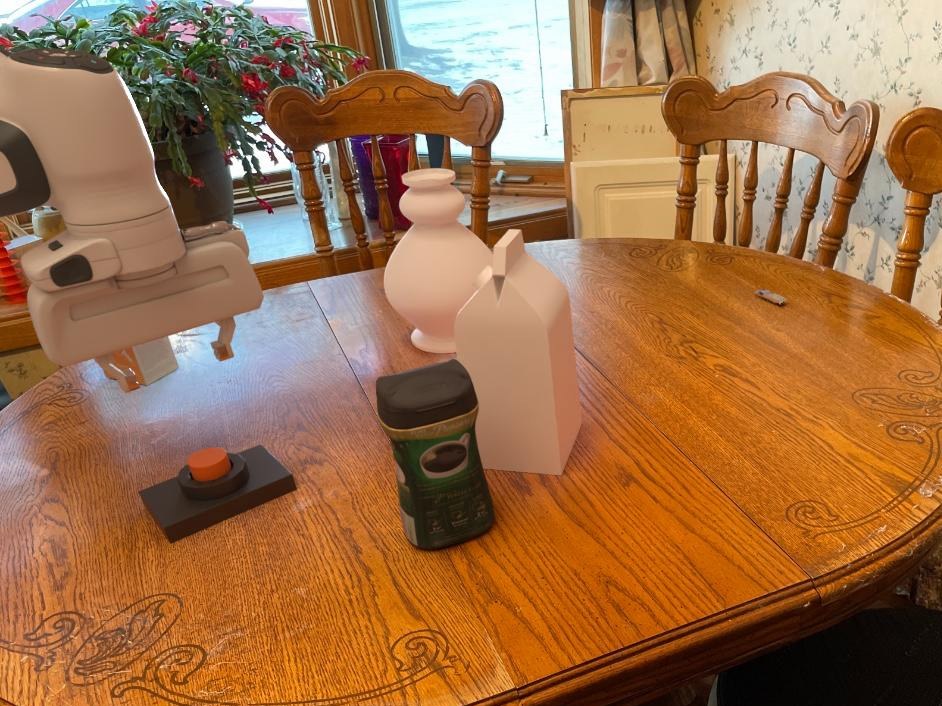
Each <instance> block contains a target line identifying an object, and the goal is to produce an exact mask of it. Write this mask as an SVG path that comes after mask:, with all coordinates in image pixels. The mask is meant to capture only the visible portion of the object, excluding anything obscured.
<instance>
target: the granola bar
mask: <svg viewBox="0 0 942 706" xmlns="http://www.w3.org/2000/svg"><path fill="white" fill-rule="evenodd" d="M755 293H757V294H759V295H761V296H764V297H766V298H769V299H771V300H774V301H776V302H778V303H779V305H782V304H781V303H783V301H786V300H788V299H787V298H786V297H784V296H782V295H780V294H777V293H775V292H773V291H770V290H769V289H765V288H761V289H758V290H756V291H753V294H755ZM783 304H784V303H783Z"/></svg>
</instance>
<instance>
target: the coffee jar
mask: <svg viewBox="0 0 942 706" xmlns="http://www.w3.org/2000/svg"><path fill="white" fill-rule="evenodd" d="M375 395H376V415H377V419H378V422H379V425H380V427H381V429H382V430H383V432H384V433H385V435H386V436H387V437H388V439H389V442H390V445H391V449H392V454H393V455H392V456H393V461H394V466H395V475H396V484H397V496H398V507H399V514H400V520H401V525H402V530H403V532H404V535H405V536H406V539H408V541H409V542H410V544H411V545H413V546H415V547H417V548H418V549H423V550H425V551H429V550H438V549H442V548H446V547H450V546H453V545H456V544H457V545H458V544H459V543H463V542H465V541H468V540H471V539H473V538H475V537H479V536H480V535H483V534H484V533H486V532H487V531H488V530H490V529H491V528H492V526H493V524H494V523H495V520H496V513H495V506H494V503H493V498H492V494H491V491H490V487H489V483H488V481H487V477H486V474H485V469H483V466H482V462H481V458H480V454H479V450H478V445H477V439H476V431H475V424H476V419H477V415H478V411H479V402H478V399H477V395H476V392H475V389H474V385H473V383H472V380H471V377H470V375H469V373H468V371H467V370H466V368H465V367H464V366H463V365H462V364H461V363H460V362H459V361H458V360H457V358H451V359H449V360H447V361H442V362H436V363H432V364H428V365H425V366H420V367H417V368H411V369H408V370H404V371H400V372H396V373H395V372H394V373H392V374H389V375H381V376H378V377H377V378H376V380H375Z"/></svg>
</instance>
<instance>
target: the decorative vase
mask: <svg viewBox="0 0 942 706" xmlns="http://www.w3.org/2000/svg"><path fill="white" fill-rule="evenodd" d="M456 177H457V176H456V172H455V171H454V170H452V169H449V168H442V167H441V168H440V167H439V168H438V167H436V168H435V167H433V168H422V169H421V168H420V169H415V170H410V171H408V172H405V173H403V174H402V175H401V181H402V184H403V185H405V186H407V187H409V188H408V189H407V190H406V191H405V192H404V193H403V194H402V196H401V197H400V199H399V203H398V207H399V210H400V213H401V214H402V216H404V217H405V218H406V219H407V220H409V221H410V222H411V223H412V225H411V226H410V228H409V229H408V230H407V231H406V232H405V234H403V236H402V237H401V238H400V240H399V241H398V243H397V245H396V246H395V247H394V249H393V251H392V253H391V254H390V257H389V258H388V261H387V264H386V266H385V269H384V274H383V288H384V293H385V297H386V299H387V301H388V303H389V304H390V306H391V307H392V308H393V309H394V310H395V311H396V312H397V313H398V314H399V316H401V317H402V318H403V319H404V320H405V321H407V322H408V323H409V324H410V325H412V326H413V327H414V328H415V329H414V330H413V331H412V332H411V335H410V340H411V343H412V345H413V346H414V347H415V348H416V349H418V350H421V351H423V352H426V353H430V354H431V353H432V354H454V353H456V343H455V333H454V324H455V321H456V317H457V314H458V313H459V311H460V310H461V309H462V308H463V307H464V305H465V304H466V303H467V302H468V301H469V299H470V298H471V297H472V296H473V295H474V293H475V292H476V291H477V290H478V289H477V288H476V287H475V286H473V285H472V283H473V282H474V281H475V279H476V278H477V277H478V276H479V275H480V274H481V272H482V271H483V270H484V269H485V268H486V267H487V265H489V266H490V267H491V268H493V252H492V251H491V249H490V248H489V246H487V245H486V244H485V242H484V241H483V240H482V239H480V238H479V237H478V235H476V234H475V233H474V232H473V231H471V230H470V229H469V228H468V227H466V226H465V225H464V224H462V222H460V221H458V218H459V217H460V216H461V215H462V213H463V212H464V210H465V208H466V204H467V202H466V201H467V200H466V198H465V196H464V194H463V193H462V192H461V190H459V189H458V188H457V187H455V186H454V185H452V184H451V183H453V182H454V181H456V179H457V178H456Z"/></svg>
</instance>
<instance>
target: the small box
mask: <svg viewBox="0 0 942 706" xmlns="http://www.w3.org/2000/svg"><path fill="white" fill-rule="evenodd" d="M112 354H113V357H114V359H115V363H113V364H112V365H114V366H115V367H117V368H118V369H119V370H121V371H122V370H125V369H129V368H130V369H131V370H132V372H134V374H135V376H136V378H137V382H138V383H139V385H142V386H146V387H148V386H149V385H151V384H153V383H155V382H157V381H158V380H160V379H162V378H163V377H165V376H167V375H169V374H171V373H172V372H174V371H176V370H178V369H179V368H180V366H179V363H178V361H177V358H176V355H175V352H174V349H173V346H172V343H171V341H170V338H169V336H167V337H164V338H160V339H157V340H154V341H150V342H147V343H144V344H140V345H137V346H134V347H130V348H127V349H124V350H121V351H117V352H114V353H112ZM102 371H103V373H104V376H105V378H106V379H107V378H108V379H114V380H117V379H116V378H115V377H114V376H112V375H111V374H110V373H108V372H107V371H105V370H104V369H102Z"/></svg>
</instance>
